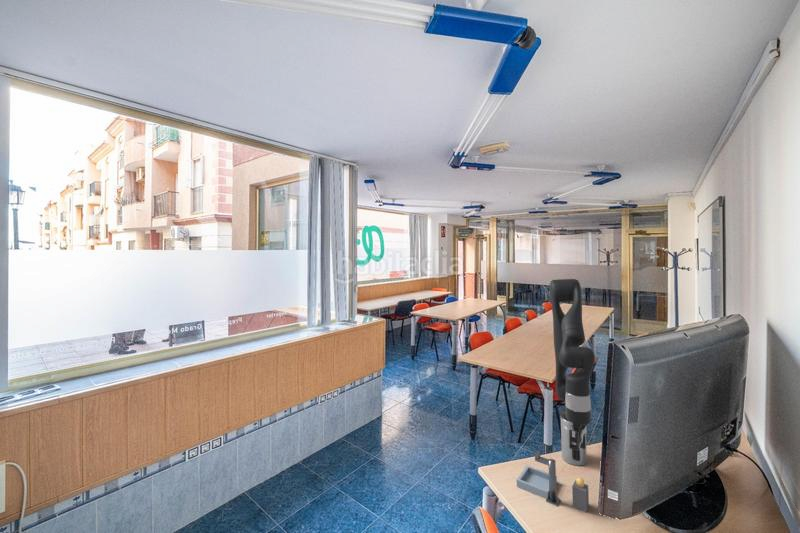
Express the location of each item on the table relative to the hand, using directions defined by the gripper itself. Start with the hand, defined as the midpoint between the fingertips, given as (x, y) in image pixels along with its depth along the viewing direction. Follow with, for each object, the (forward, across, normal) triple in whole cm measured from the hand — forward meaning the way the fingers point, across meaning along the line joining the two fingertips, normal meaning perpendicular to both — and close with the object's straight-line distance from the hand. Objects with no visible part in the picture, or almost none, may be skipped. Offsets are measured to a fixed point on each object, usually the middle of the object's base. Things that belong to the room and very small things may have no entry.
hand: (579, 453), depth 111 cm
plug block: (+18, 0, 0) cm, 18 cm away
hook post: (+18, +3, -10) cm, 21 cm away
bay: (+18, -2, -15) cm, 23 cm away
